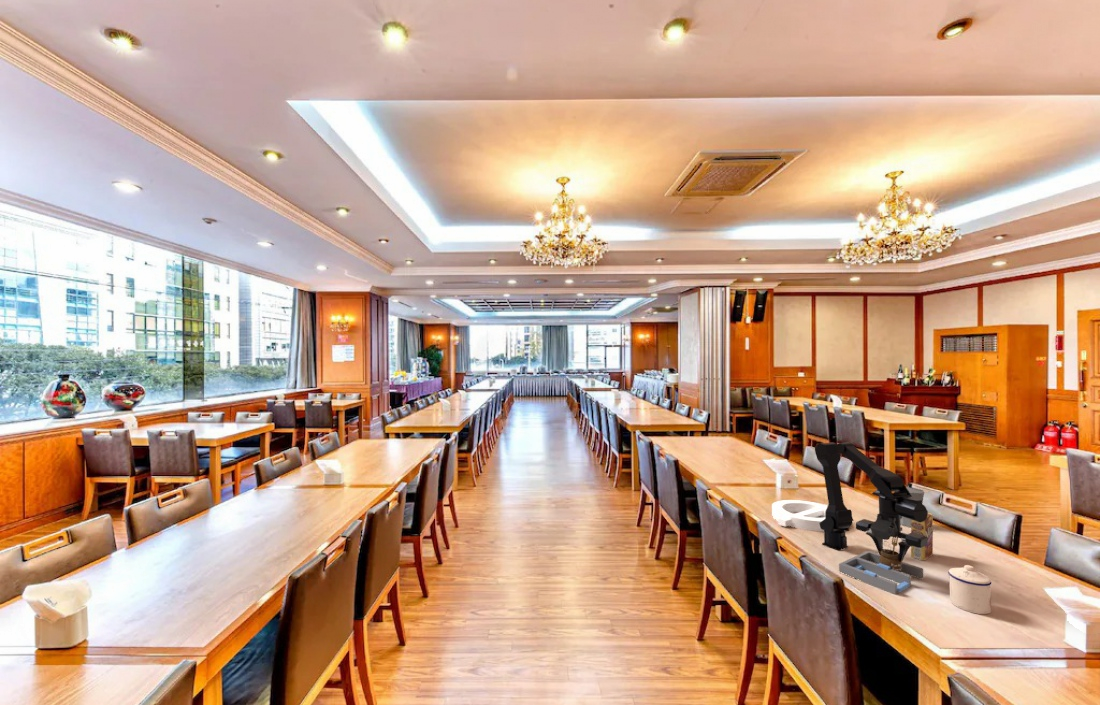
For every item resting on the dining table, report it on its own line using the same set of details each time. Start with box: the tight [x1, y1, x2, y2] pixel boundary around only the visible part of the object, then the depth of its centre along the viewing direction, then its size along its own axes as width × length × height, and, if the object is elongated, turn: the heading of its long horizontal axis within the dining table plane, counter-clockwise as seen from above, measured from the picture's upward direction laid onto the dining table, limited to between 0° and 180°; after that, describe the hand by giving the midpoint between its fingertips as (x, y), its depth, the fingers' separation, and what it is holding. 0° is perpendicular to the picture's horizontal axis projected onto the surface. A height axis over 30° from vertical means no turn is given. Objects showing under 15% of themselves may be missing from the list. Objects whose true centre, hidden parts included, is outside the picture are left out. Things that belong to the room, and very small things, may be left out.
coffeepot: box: [893, 482, 925, 528], centre depth 190 cm, size 15×9×18 cm, turn 103°
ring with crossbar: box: [771, 499, 828, 533], centre depth 197 cm, size 28×28×5 cm
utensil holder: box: [879, 537, 903, 573], centre depth 147 cm, size 6×6×12 cm
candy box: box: [910, 512, 934, 561], centre depth 160 cm, size 9×4×15 cm, turn 123°
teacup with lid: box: [947, 564, 992, 615], centre depth 129 cm, size 12×9×12 cm
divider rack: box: [838, 550, 924, 595], centre depth 146 cm, size 16×20×4 cm
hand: (890, 558), depth 147 cm, fingers closed on utensil holder, 5 cm apart
